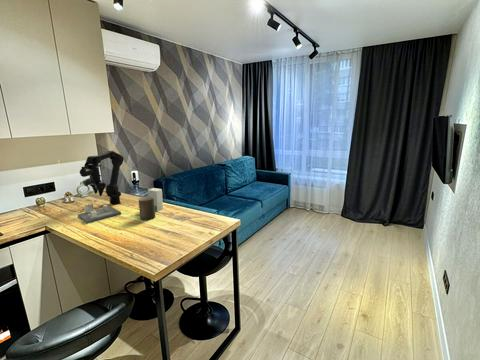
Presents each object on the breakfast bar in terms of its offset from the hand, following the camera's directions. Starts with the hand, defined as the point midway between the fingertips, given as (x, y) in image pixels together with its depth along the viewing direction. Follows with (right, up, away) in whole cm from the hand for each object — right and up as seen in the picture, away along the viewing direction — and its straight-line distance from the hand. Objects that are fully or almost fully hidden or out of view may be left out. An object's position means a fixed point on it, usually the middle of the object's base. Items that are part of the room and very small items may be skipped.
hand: (98, 194), depth 189 cm
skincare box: (+41, -11, +3) cm, 43 cm away
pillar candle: (+40, -15, -12) cm, 45 cm away
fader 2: (+7, -11, -4) cm, 14 cm away
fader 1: (+6, -14, -15) cm, 21 cm away
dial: (-2, -12, -7) cm, 14 cm away
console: (+5, -14, -8) cm, 17 cm away
